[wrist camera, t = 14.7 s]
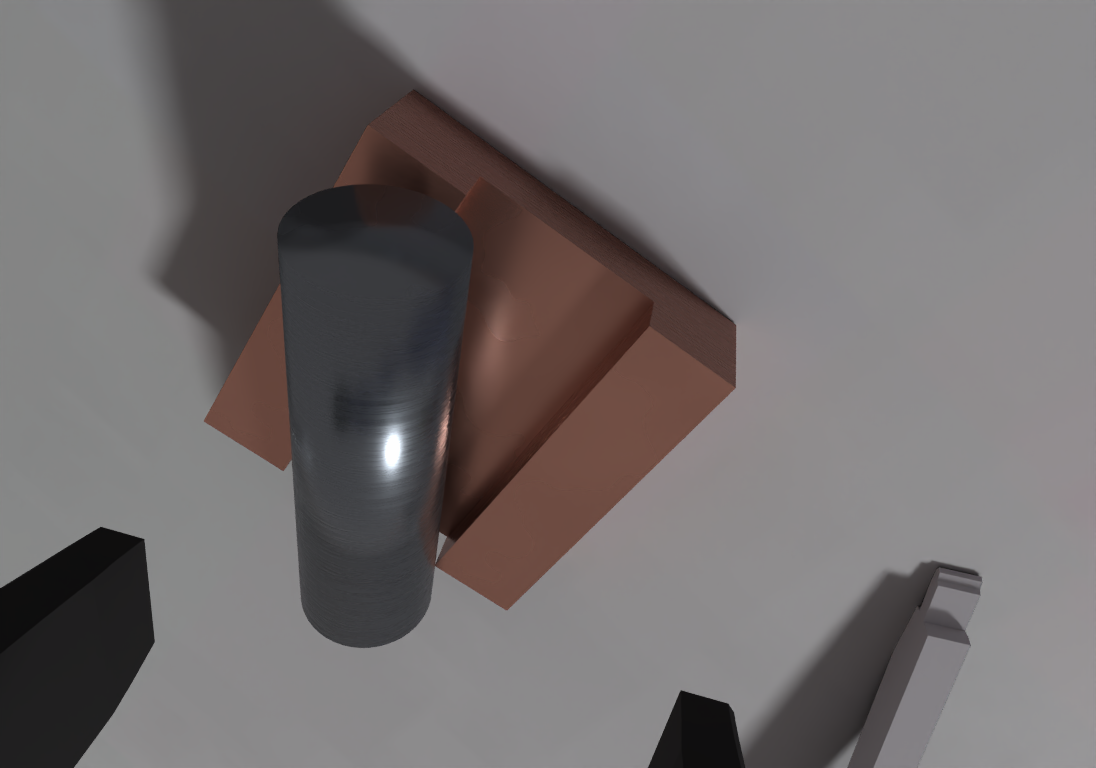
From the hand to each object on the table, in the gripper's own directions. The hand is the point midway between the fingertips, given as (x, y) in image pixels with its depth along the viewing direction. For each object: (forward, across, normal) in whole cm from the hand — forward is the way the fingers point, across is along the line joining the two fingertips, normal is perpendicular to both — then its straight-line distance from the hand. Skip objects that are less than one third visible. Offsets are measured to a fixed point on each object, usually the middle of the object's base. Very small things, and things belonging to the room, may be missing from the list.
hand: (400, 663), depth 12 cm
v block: (+9, +1, +1) cm, 9 cm away
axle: (+7, +3, +1) cm, 8 cm away
